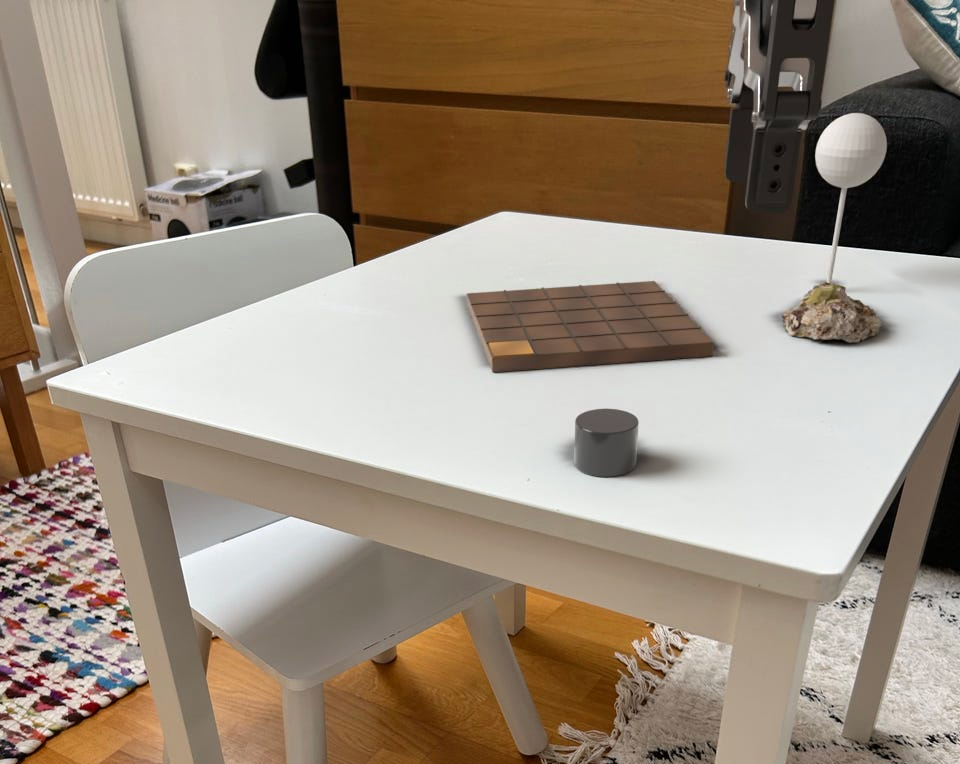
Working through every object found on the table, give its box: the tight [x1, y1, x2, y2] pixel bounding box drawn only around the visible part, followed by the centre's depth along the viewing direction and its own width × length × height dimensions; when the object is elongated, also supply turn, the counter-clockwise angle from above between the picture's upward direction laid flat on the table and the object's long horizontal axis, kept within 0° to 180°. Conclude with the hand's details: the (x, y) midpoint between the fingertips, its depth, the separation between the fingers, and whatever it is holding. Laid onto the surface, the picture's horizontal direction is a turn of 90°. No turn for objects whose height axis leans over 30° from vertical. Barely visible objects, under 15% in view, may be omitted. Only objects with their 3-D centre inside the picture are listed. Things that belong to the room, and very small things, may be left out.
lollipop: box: [814, 112, 888, 284], centre depth 89 cm, size 6×6×15 cm
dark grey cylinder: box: [573, 408, 640, 478], centre depth 64 cm, size 4×4×3 cm
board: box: [466, 280, 714, 373], centre depth 86 cm, size 18×18×1 cm
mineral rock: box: [781, 281, 884, 344], centre depth 85 cm, size 11×4×8 cm
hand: (754, 195), depth 54 cm, fingers open, 8 cm apart
